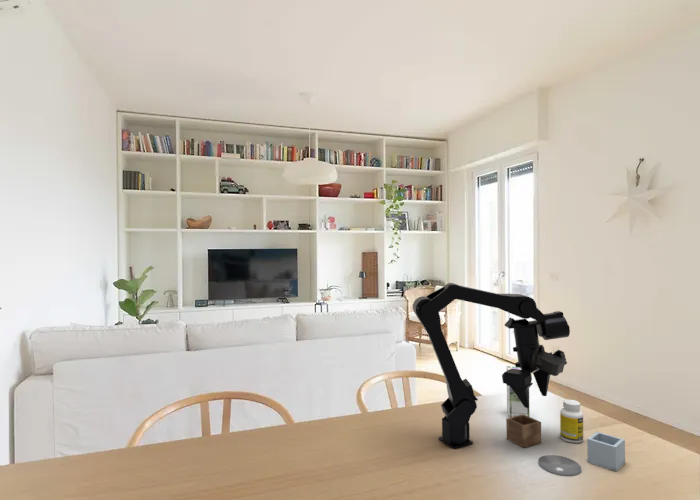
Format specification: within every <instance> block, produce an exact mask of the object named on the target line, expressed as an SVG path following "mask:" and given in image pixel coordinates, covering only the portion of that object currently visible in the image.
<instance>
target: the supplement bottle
mask: <svg viewBox="0 0 700 500" xmlns="http://www.w3.org/2000/svg"><path fill="white" fill-rule="evenodd" d="M562 403H563V404H562V407H563V408H561V409H560V411H559V412H560V414H559V416H560V417H559V419H560V421H559V423H560V426H559V427H560V428H559V431H560V432H559V433H560V434H559V435H560V438H561V439H562V440H563V441H565V442H568V443H572V444H580V443H582V442H583V441H584V414H583V412H582V411H581V403H580V402H579V401H577V400H574V399H564V400H563V402H562Z"/></svg>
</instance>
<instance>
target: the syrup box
mask: <svg viewBox="0 0 700 500" xmlns="http://www.w3.org/2000/svg"><path fill="white" fill-rule="evenodd" d="M511 368H512V369H520V370H521V368H520V367H516V366H515V365H506V371H508V370H510V369H511ZM506 412H507V414H508V418H510V417H514V416H518V415H522V414H523V415H526V416H528V417H530V407H529V408H525V407H524V406H523V404H522V403H521V401H520V400H519V398H518V397H517V395H516V394H515V392H514V391H513V390H512V388H511V387H510V386H509V385H507V384H506ZM530 418H531V417H530Z"/></svg>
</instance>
